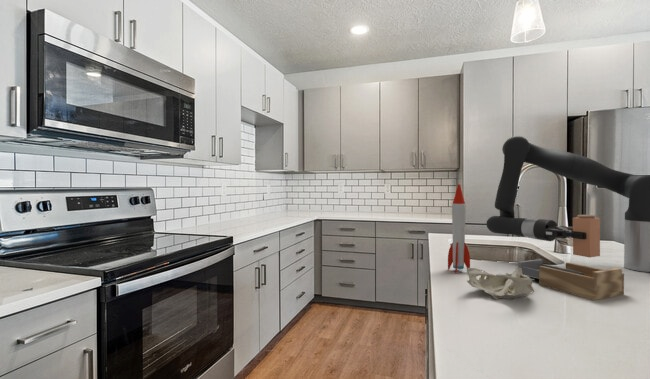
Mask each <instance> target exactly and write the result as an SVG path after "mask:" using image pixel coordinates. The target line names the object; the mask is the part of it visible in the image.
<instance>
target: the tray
mask: <svg viewBox="0 0 650 379" xmlns="http://www.w3.org/2000/svg"><path fill="white" fill-rule="evenodd" d="M543 261H544V260H543V259H541V258H539V259H538V258H537V259H531V260H523V261H522V260H521V261H517V267H518V268H522V274H523V275H524V276H527V277H529V278H533V279H538V280H539V266H544V267H549V268H553V269H557V270H562V271H566V272H570V273H575V274H579V275H582V272H578V271H573V270H569V269H566V268H563V267H559V266H555V265H549V264H547V263H545V264H544V262H543Z"/></svg>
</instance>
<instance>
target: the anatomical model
mask: <svg viewBox="0 0 650 379" xmlns="http://www.w3.org/2000/svg"><path fill="white" fill-rule="evenodd" d="M466 272H467V276H468V280H466V282H467V283H468V284H469V285H470V286H471V287H473V288H475V289H477V290H481V291H483V292H484V293H486V294H487V295H490V296H492V297H493V298H494V299H496V300H498V299H502V298H503V299H509V300H514V299H518V298H524V297H526V296H529V295H530V294H531V293H533V292H535V290H534V288H533V281H535V278H531V277H530V276H526V275H523V274H522V268H518V265H516V266H515V270H514V271H513V272H512V273H504V274H503V273H497V274H493V273H490V272H488V271H486V270H483V269H479V268H475V267H470V268H467V267H466ZM478 276H480V277H479V279H478V278H477V277H478Z"/></svg>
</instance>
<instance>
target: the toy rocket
mask: <svg viewBox="0 0 650 379" xmlns="http://www.w3.org/2000/svg"><path fill="white" fill-rule="evenodd" d="M461 187H462V186H461V184H460V183H458V184H457V187H456V190H455V194H454V198H453V201H452V204H451V220H452V221H451V224H452V225H451V226H452V243H451V245H450V247H449V249H448V254H447V270H450V268H451V266H452V268H453V269H454V270H455V271H454V273H455V274H458V270H463V269H465V267H466V269H467V268H471V255H470V252H469V248H468V246H467V244H466V242H465V241H466V240H465V239H466V237H465V236H466V235H465V234H466V214H467V213H466V208H467V207H466V206H467V205H466V202H465V199H464V195H463V191H462V188H461Z"/></svg>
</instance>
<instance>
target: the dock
mask: <svg viewBox="0 0 650 379" xmlns="http://www.w3.org/2000/svg"><path fill="white" fill-rule="evenodd" d="M565 269H569V270H573V271H578V272H582V275H579V274H575V273H570V272H566V271H562V270H557V269H553V268H549V267H544V266H539V279H538V282H539V283H538V284H539V286H543V287H546V288H549V287H550V289H553V290H557V291H561V292H564V293H566V294H567V293H568V294H570V295H573V296H578V297H582V298H584V299H588V300H593V301H597V300H601V299H602V300H603V299H607V298H611V297H617V296H623V295H624V294H625V274H624V273H623V268H620V267H613V268H609V269H601V268H596V267H592V266H586V265H581V264H577V263H572V262H565Z"/></svg>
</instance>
